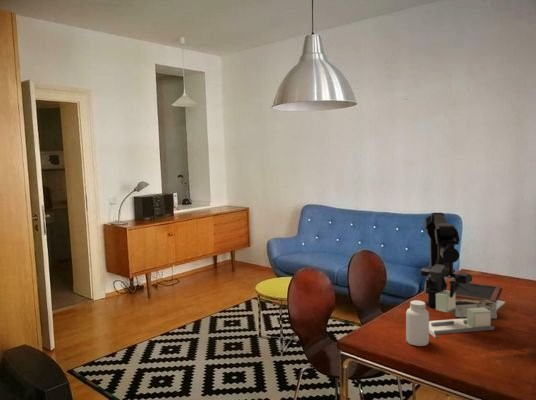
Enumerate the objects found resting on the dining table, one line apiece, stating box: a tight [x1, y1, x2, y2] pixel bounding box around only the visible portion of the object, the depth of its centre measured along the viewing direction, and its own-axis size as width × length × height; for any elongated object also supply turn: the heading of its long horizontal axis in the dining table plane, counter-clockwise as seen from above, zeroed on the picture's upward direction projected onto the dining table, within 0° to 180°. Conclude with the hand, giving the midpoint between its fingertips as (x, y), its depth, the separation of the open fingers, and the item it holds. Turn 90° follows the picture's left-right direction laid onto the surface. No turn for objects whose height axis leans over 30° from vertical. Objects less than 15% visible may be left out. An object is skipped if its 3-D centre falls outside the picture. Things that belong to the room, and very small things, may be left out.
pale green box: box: [435, 289, 457, 313], centre depth 167 cm, size 5×7×6 cm, turn 129°
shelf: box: [429, 317, 496, 339], centre depth 165 cm, size 12×24×3 cm, turn 97°
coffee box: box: [450, 299, 498, 319], centre depth 176 cm, size 9×6×16 cm
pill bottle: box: [405, 300, 430, 347], centre depth 154 cm, size 8×8×15 cm
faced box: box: [466, 307, 492, 328], centre depth 164 cm, size 5×7×6 cm, turn 97°
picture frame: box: [455, 282, 501, 303], centre depth 208 cm, size 20×2×25 cm
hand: (445, 295), depth 167 cm, fingers closed on pale green box, 5 cm apart
